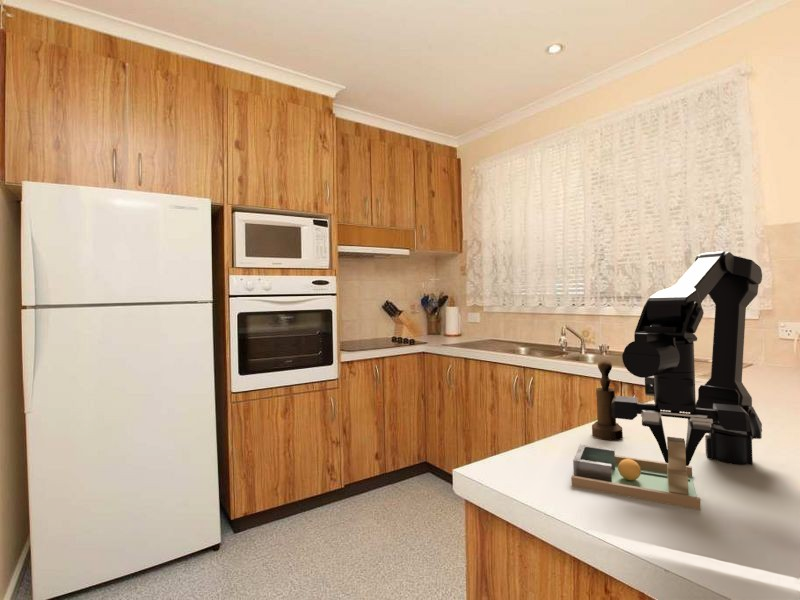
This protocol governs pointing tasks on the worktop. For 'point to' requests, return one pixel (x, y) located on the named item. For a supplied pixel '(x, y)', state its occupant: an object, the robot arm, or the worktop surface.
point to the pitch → (644, 484)
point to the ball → (629, 469)
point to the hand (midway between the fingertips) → (676, 463)
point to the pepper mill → (605, 407)
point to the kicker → (677, 466)
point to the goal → (594, 462)
